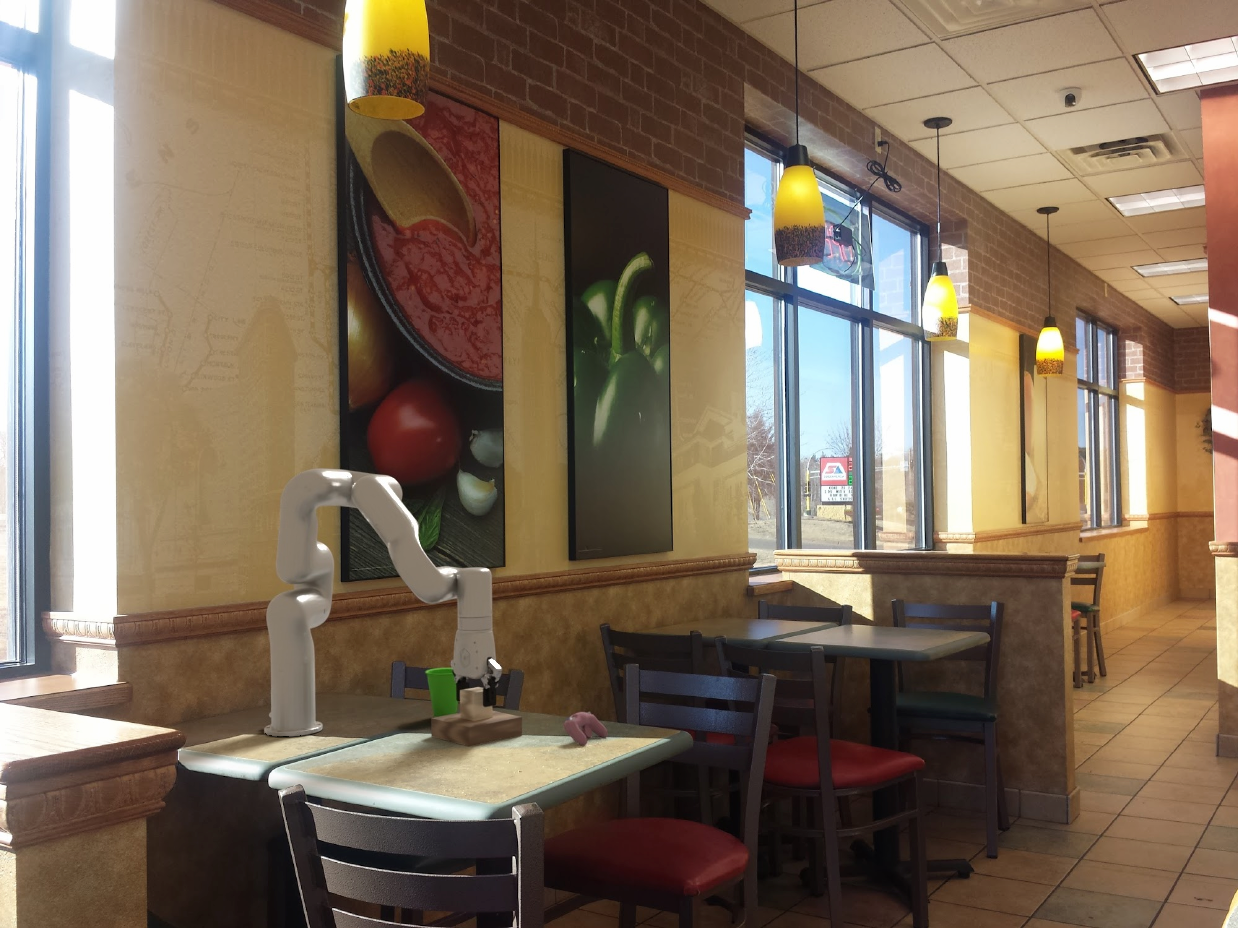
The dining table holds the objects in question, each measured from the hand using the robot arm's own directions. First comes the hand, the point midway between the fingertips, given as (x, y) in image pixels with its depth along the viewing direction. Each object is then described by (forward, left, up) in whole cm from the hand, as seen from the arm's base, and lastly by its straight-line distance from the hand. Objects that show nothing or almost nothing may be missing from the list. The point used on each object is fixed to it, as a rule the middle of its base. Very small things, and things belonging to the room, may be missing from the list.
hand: (476, 702), depth 241 cm
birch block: (0, 0, -3) cm, 3 cm away
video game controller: (+21, +13, -7) cm, 26 cm away
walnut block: (0, 0, -7) cm, 7 cm away
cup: (-22, +7, -7) cm, 24 cm away
